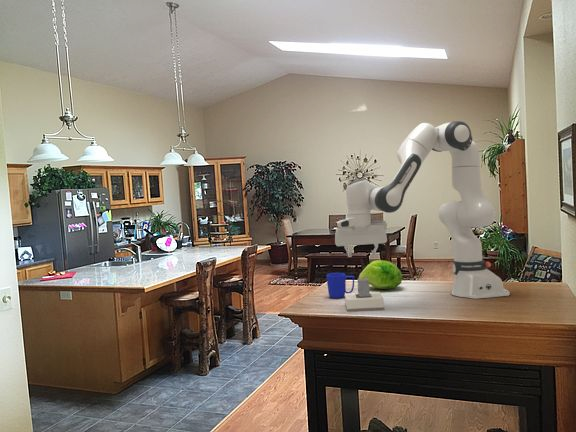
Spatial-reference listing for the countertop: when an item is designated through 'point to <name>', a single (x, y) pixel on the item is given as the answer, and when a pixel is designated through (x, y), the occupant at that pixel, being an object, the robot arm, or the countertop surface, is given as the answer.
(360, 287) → the grey brushed prism
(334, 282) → the mug
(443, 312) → the countertop surface
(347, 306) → the well block
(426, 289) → the countertop surface
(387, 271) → the lettuce
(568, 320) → the countertop surface
